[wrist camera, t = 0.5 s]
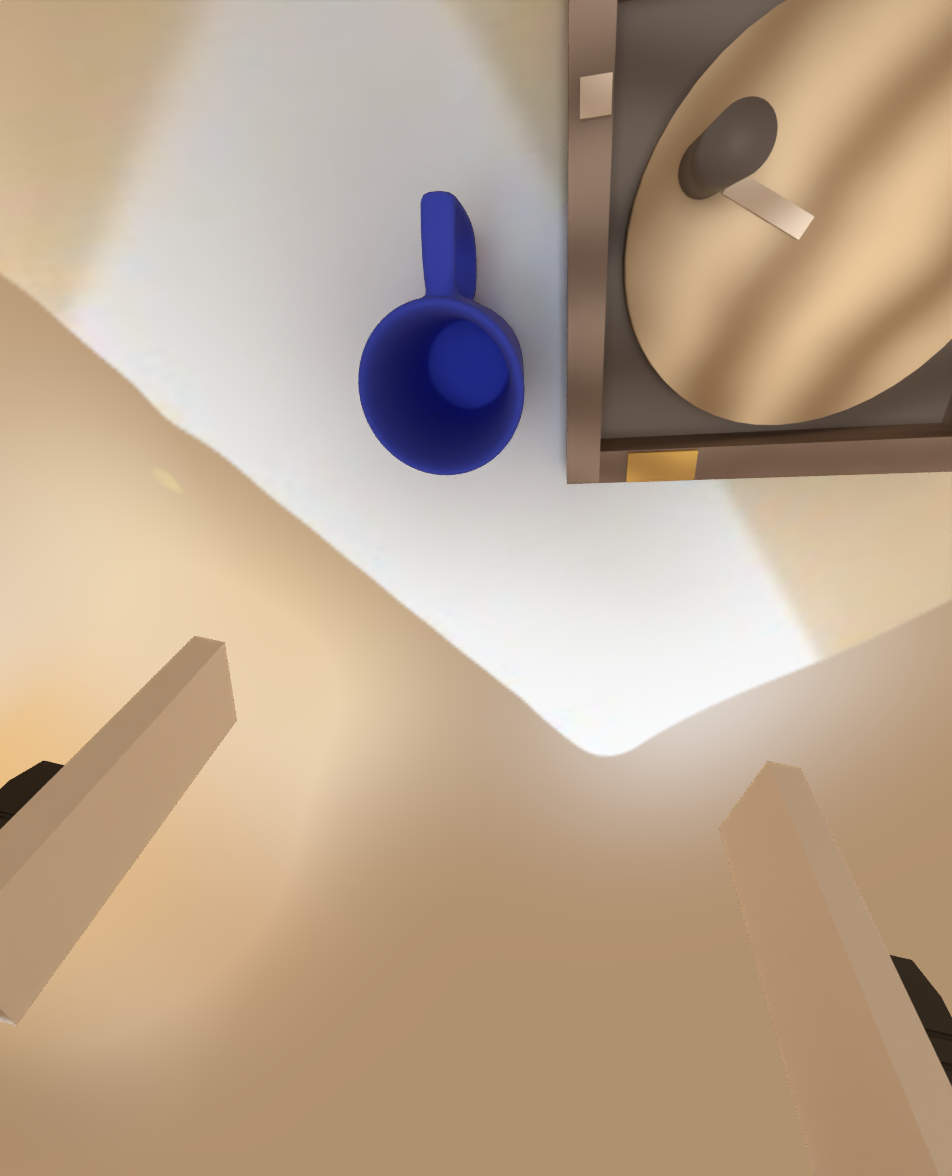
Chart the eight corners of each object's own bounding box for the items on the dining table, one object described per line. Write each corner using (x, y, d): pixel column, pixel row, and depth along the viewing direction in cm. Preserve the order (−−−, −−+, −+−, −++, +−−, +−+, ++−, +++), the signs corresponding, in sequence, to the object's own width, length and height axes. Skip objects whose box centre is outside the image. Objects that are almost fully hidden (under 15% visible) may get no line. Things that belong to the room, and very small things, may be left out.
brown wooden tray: (568, -45, 23) (569, -96, 20) (1213, -178, 19) (1342, -268, 16) (566, 466, 36) (567, 485, 32) (959, 451, 32) (1004, 471, 28)
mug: (542, 211, 28) (533, 184, 20) (530, 430, 35) (519, 480, 26) (399, 213, 29) (333, 188, 21) (413, 425, 36) (367, 472, 27)
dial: (1112, 121, 23) (1355, 53, 16) (809, 465, 33) (877, 518, 25) (782, -108, 21) (892, -302, 14) (562, 329, 31) (561, 345, 24)
